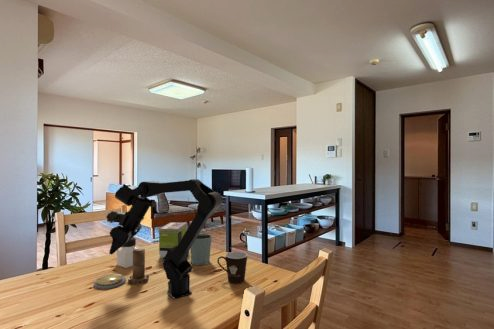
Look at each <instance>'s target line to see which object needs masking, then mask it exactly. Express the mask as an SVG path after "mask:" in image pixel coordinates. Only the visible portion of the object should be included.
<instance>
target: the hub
mask: <svg viewBox="0 0 494 329" xmlns="http://www.w3.org/2000/svg"><path fill="white" fill-rule="evenodd" d="M123 276H124V275H123V274H121V273H109V274H104V275H101V276H100V277H98V278H97V279H96V280H97V285H100V286H109V285H114V284H117V283H119V282H121V281H122V280H123Z"/></svg>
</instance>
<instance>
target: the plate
mask: <svg viewBox="0 0 494 329" xmlns="http://www.w3.org/2000/svg"><path fill="white" fill-rule="evenodd" d="M126 279H127V278H126V276H124V275H123V280H122V281H121V282H119V283H117V284H114V285H109V286H100V285H97V279H96V280H95V281H94V282H93V288H95V289H97V290H109V289H115V288H118V287H120V286H122V285H124V284H125V283H126V281H127V280H126Z"/></svg>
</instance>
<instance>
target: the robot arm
mask: <svg viewBox="0 0 494 329" xmlns="http://www.w3.org/2000/svg"><path fill="white" fill-rule="evenodd" d="M176 192H177V193H179V192H190V193H191V194H192V197H194V199H195V200H196V201H197V202H198V203H197V207H196V208H197V209H196V214H195V216H194V217H193V219H192V221H191V223H190V224H189V226H187V231H186V232H185V234H184V236H183V237H182V239H181V241H180V242H179V244H178V245H176V246H174V247H172V248H170V249H169V250H168V251H167V254H166V256H165V257H164V258H162V267H163V270H164V272H165V275H166V279H167V280H168V281H167V282H168V283H167V291H166V293H167V294H168V295H169V296H171V297H172V298H173V299H179V298H182V297H184V296H188V295H191V294H192V293H193V291H191V290H190V289H191V288H190V285H191V284H190V282H191V280H190V277H191V276H190V275H191V274H190V273H191V272H192V271H193V264H192V263H191V262H189V260H188V259H189V256H190V251H191V250H190V248H191V247H192V245H193V243H194V242H195V240H196V238H197V237H198V235H199V234H201V231H202V230H203V229H204V227H205V225H206V223H207V222H208V220H209V218H210V217H211V216H213V215H214V214H215V213H216V212H217V211H218V209H220V208H221V206H222V205H223V202H224V201H223V196H222V195H221V193H219V192H217V191H214V190H213V189H212V188H211V187H209V186H208V185H206V184H205V183H203V182H202V181H201V180H200V179H198V178H194V179H189V180H180V181H179V180H178V181H170V182H168V181H167V182H164V181H159V180H158V181H156V180H149V181H141V182H140V183H139V184H138V185H137V186H136V187H135V188H134V187H133V186H132V185H131V184H129V183H123V184H122V186H120V188H119V189H117V190H116V191H115V194H114V198H115V199H116V200H118V201H119V202H121V203H122V204H124V205H125V206H128V207H130V208H129V210H128V211H126V212H122V211H117V210H116V211H114V210H112V211H111V210H110V211H109V212H107V215H106V217H105V218H106V221H107V222H109V223H112V222H113V223H118V225H117V226H115V227H113V228H112V229H111V230H110V231H109V233H108V234H109V235H110V237H111V240H112V241H111V246H110V249H109V252H108V253H109V255H113V254H114V253H117V250H118V249H121V247H122V246H123V245H124V244H125V243H126V242H128V241H129V240H130V239H131V238H132V237H133V238H135V236H136V235H137V234H138V233H140V231H141V229H142V228H143V227H142V224H141V223H142V221H144V219H145V216H146V214H147V212H148V210H150V208H157V204H156V200H155V199H150V198H152V197H157V196H160V195H163V194H166V193H176Z"/></svg>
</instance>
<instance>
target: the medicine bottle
mask: <svg viewBox="0 0 494 329" xmlns="http://www.w3.org/2000/svg"><path fill="white" fill-rule="evenodd" d="M136 242H137V241H136V237H132V238H131V239H130V240H129V241H128V242H126V243H125V244H124V245H123V246H122V247H120V248H119V249H118V250H117V251H116V266H118V267H122V268H124V269H128V268H132V267H133V250H134V249H138V248H139V247H136V245H137V244H136Z"/></svg>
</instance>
